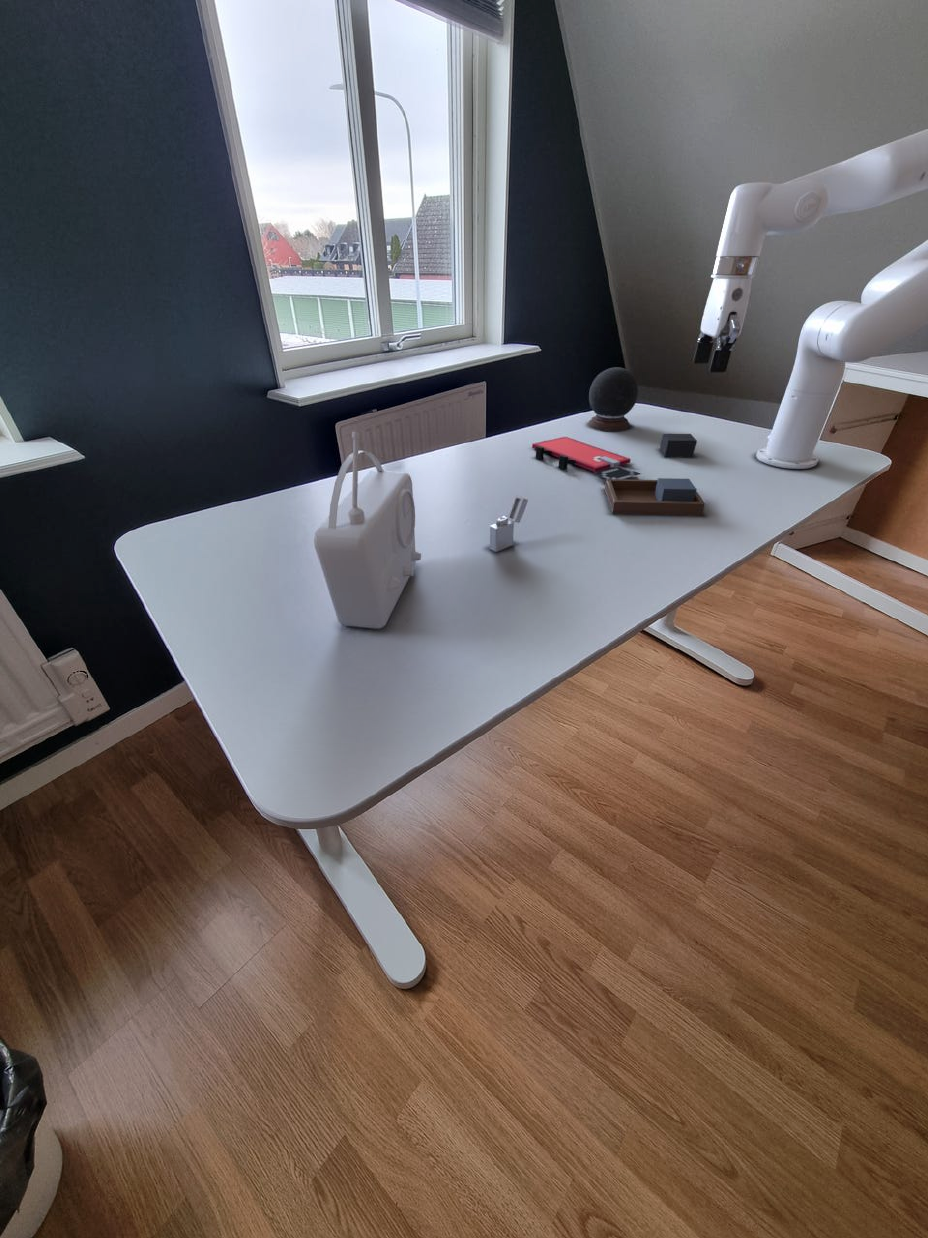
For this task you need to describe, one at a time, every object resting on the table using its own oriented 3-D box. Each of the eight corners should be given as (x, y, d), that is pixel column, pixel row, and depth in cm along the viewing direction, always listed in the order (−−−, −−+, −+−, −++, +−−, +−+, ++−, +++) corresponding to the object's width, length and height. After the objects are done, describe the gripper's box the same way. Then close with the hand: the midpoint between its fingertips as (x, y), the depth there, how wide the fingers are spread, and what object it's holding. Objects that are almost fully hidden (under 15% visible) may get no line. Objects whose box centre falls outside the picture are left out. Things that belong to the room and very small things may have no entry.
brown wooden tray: (604, 490, 104) (606, 478, 103) (685, 491, 103) (688, 480, 101) (612, 513, 95) (614, 501, 94) (701, 515, 94) (705, 503, 92)
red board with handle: (606, 487, 105) (655, 473, 111) (608, 474, 103) (657, 461, 109) (520, 451, 125) (565, 442, 132) (520, 440, 124) (566, 431, 130)
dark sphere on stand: (641, 429, 138) (652, 370, 129) (599, 434, 136) (607, 374, 127) (617, 417, 149) (626, 361, 140) (577, 421, 146) (583, 365, 137)
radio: (390, 642, 65) (363, 453, 50) (331, 636, 66) (287, 449, 52) (428, 560, 82) (417, 400, 67) (380, 556, 84) (359, 398, 69)
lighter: (495, 552, 84) (496, 508, 79) (489, 548, 85) (489, 504, 80) (525, 539, 88) (528, 496, 83) (519, 535, 89) (521, 493, 84)
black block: (659, 449, 124) (663, 433, 122) (686, 450, 124) (690, 433, 121) (664, 457, 120) (668, 440, 117) (692, 457, 119) (697, 440, 117)
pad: (654, 494, 101) (658, 478, 99) (684, 495, 100) (689, 478, 98) (660, 506, 96) (664, 488, 94) (692, 506, 96) (696, 489, 94)
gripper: (775, 269, 88) (743, 375, 98) (735, 267, 101) (711, 360, 112) (732, 270, 88) (704, 375, 98) (698, 267, 102) (677, 360, 112)
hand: (708, 367), depth 105 cm, fingers open, 9 cm apart
